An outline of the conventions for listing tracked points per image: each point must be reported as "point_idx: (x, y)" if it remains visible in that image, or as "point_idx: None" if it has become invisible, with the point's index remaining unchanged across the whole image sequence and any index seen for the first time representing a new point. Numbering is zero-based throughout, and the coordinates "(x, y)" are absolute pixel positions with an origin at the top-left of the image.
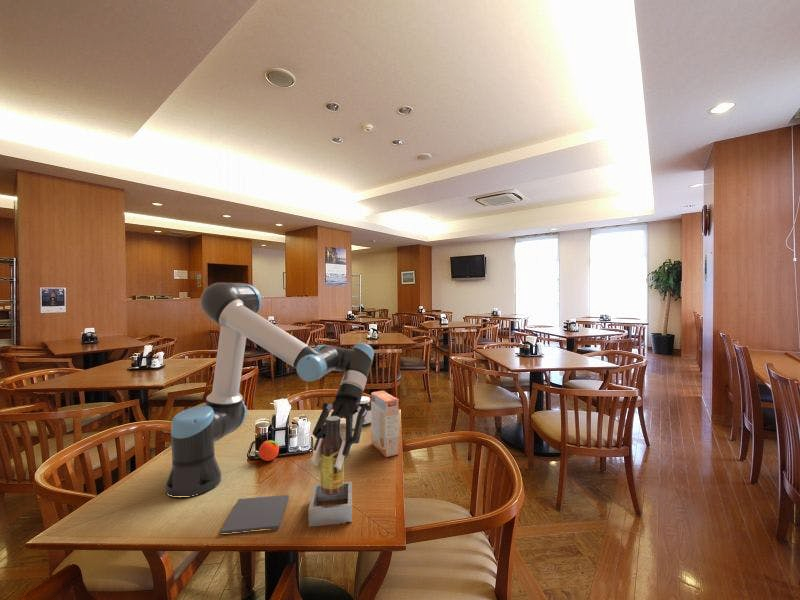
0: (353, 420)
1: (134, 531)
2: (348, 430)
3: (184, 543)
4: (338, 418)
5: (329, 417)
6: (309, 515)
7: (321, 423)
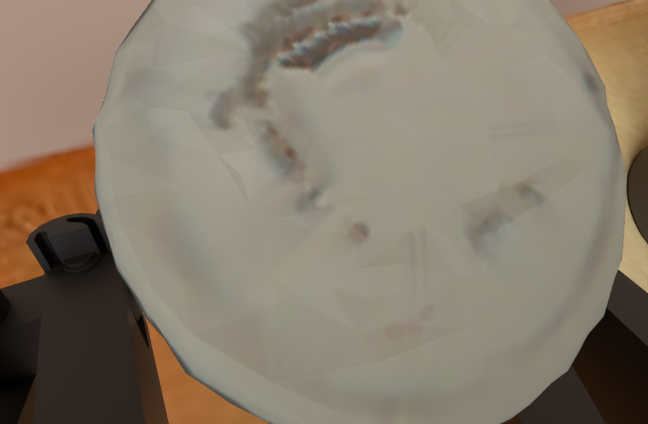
0: None
1: (606, 39)
2: (70, 372)
3: None
4: (165, 188)
5: (555, 161)
6: None
7: (617, 350)
